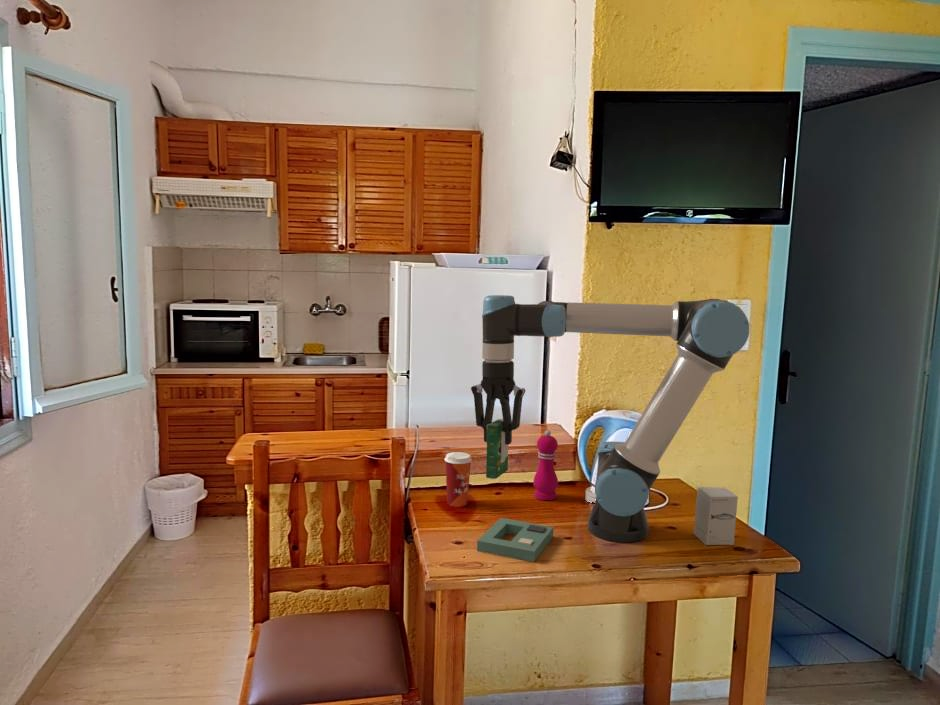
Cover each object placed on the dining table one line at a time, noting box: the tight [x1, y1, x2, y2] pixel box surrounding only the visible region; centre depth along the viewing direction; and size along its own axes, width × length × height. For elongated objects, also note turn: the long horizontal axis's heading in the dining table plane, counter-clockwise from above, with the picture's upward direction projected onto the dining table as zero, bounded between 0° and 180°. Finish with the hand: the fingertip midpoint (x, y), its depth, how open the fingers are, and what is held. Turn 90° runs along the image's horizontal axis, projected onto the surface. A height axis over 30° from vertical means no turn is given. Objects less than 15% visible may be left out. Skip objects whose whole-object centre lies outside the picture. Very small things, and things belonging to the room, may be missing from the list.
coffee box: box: [485, 418, 509, 480], centre depth 162 cm, size 8×3×13 cm, turn 155°
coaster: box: [584, 486, 596, 503], centre depth 193 cm, size 10×10×4 cm
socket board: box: [476, 517, 554, 563], centre depth 162 cm, size 14×16×3 cm
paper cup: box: [444, 451, 473, 508], centre depth 188 cm, size 8×8×14 cm
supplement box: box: [693, 486, 739, 546], centre depth 166 cm, size 7×7×13 cm
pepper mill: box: [532, 430, 559, 501], centre depth 194 cm, size 7×7×20 cm
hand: (497, 455), depth 162 cm, fingers closed on coffee box, 3 cm apart
